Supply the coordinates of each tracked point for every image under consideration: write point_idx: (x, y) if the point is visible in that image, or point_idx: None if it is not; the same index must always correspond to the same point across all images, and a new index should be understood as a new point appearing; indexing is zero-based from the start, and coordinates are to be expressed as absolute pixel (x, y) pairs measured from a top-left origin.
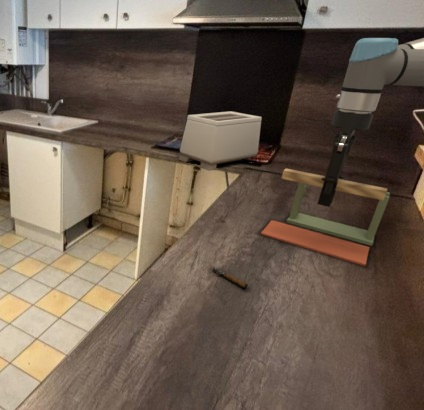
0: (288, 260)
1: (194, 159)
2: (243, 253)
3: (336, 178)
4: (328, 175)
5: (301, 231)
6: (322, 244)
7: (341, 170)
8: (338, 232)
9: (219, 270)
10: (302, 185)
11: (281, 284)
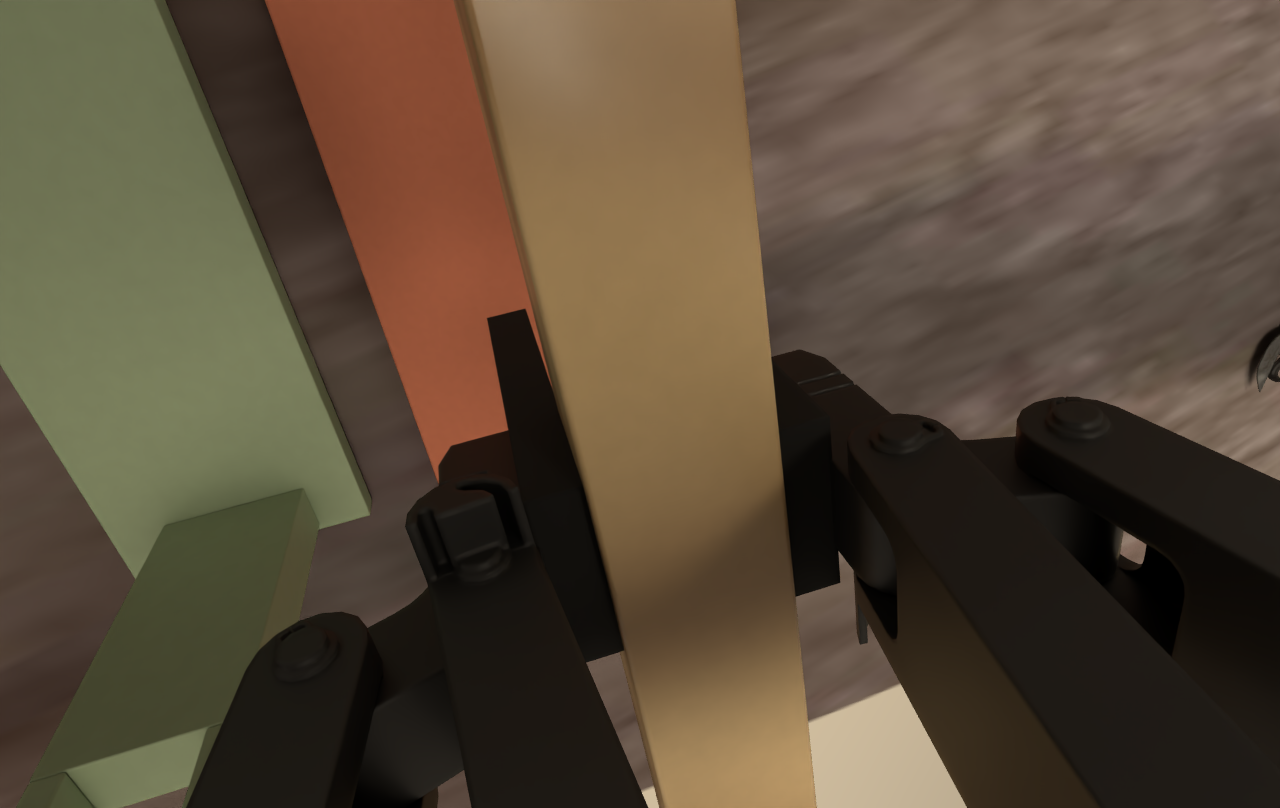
0: (944, 201)
1: None
2: (1026, 395)
3: (1161, 442)
4: (1172, 581)
5: (467, 351)
6: None
7: (578, 648)
8: (186, 142)
9: (1276, 356)
10: None
11: (1227, 99)
